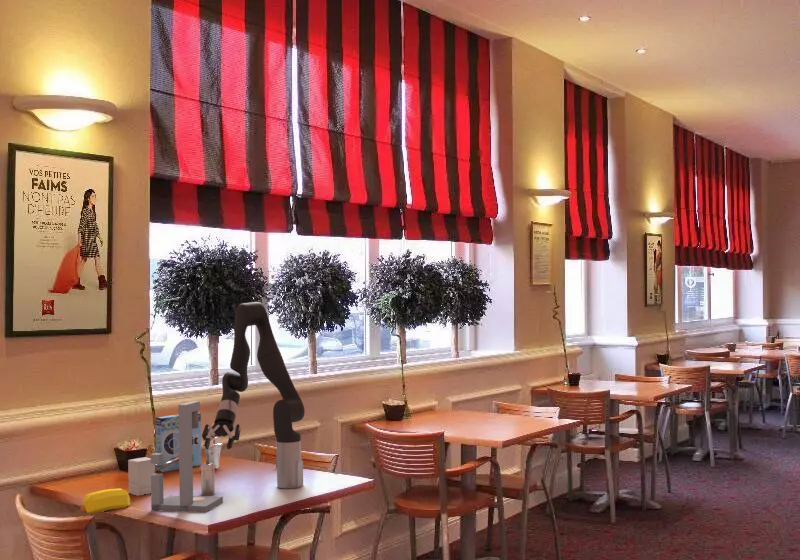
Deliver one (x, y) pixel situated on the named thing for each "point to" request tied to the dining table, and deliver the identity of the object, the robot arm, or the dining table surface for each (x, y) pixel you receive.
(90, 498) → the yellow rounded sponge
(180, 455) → the press
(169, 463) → the lever
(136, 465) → the supplement box
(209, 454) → the cup with straw
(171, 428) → the blue cereal box
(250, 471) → the dining table surface
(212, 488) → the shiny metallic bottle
